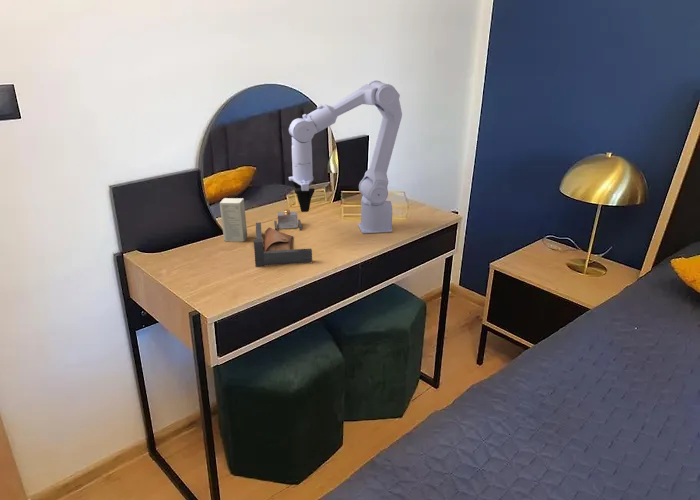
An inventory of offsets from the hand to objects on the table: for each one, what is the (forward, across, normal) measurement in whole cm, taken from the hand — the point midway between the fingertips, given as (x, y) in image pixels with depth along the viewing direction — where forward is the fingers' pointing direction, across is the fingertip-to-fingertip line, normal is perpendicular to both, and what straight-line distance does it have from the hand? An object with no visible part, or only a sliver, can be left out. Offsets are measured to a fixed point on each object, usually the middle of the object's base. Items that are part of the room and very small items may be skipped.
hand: (303, 207), depth 167 cm
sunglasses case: (+10, +7, -8) cm, 15 cm away
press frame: (+9, +4, -7) cm, 12 cm away
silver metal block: (+9, -9, -4) cm, 14 cm away
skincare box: (+10, -2, -20) cm, 23 cm away
